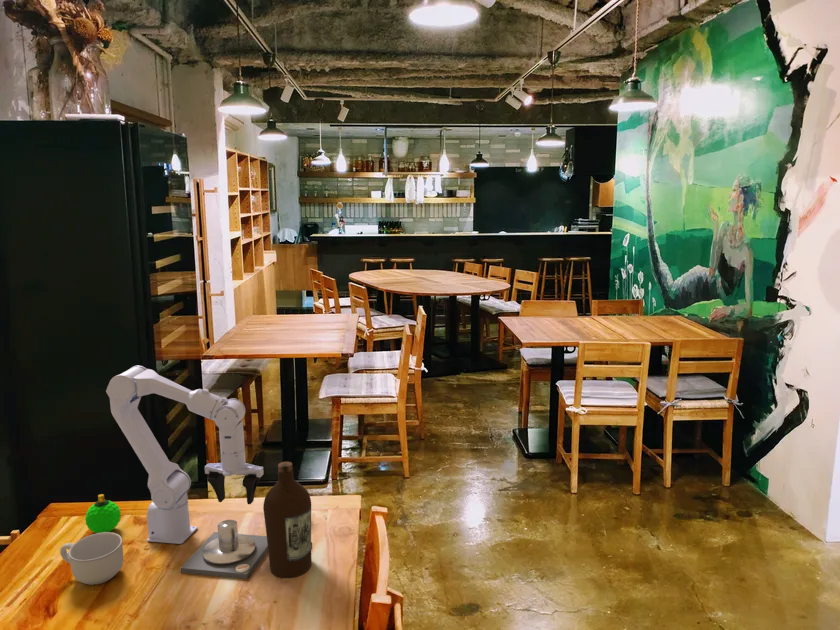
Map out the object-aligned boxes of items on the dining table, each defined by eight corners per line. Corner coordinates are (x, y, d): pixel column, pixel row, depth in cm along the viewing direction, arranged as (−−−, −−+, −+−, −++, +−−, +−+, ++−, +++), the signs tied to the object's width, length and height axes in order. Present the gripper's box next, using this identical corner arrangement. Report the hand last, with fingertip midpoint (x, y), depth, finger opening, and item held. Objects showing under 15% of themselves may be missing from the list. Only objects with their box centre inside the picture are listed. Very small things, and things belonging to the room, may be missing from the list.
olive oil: (257, 568, 147) (251, 465, 142) (295, 548, 155) (289, 451, 150) (286, 585, 140) (279, 478, 135) (323, 564, 148) (319, 462, 143)
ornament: (107, 521, 169) (104, 485, 167) (129, 528, 165) (125, 491, 163) (79, 535, 162) (75, 498, 160) (101, 543, 158) (97, 505, 156)
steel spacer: (215, 551, 149) (214, 528, 148) (224, 542, 154) (223, 519, 153) (233, 553, 149) (231, 529, 148) (241, 543, 153) (240, 520, 152)
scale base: (180, 572, 145) (180, 566, 145) (214, 536, 161) (213, 530, 160) (247, 578, 142) (246, 572, 142) (274, 541, 158) (274, 535, 158)
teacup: (136, 568, 147) (132, 536, 146) (98, 595, 137) (94, 561, 136) (89, 557, 152) (85, 526, 150) (49, 583, 142) (45, 550, 140)
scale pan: (192, 562, 146) (192, 559, 146) (217, 535, 158) (217, 532, 158) (242, 566, 144) (241, 563, 144) (263, 539, 156) (263, 536, 156)
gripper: (196, 454, 154) (201, 506, 156) (253, 457, 151) (257, 511, 154) (211, 443, 161) (214, 493, 163) (265, 446, 158) (268, 497, 161)
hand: (236, 501), depth 159 cm, fingers open, 7 cm apart
